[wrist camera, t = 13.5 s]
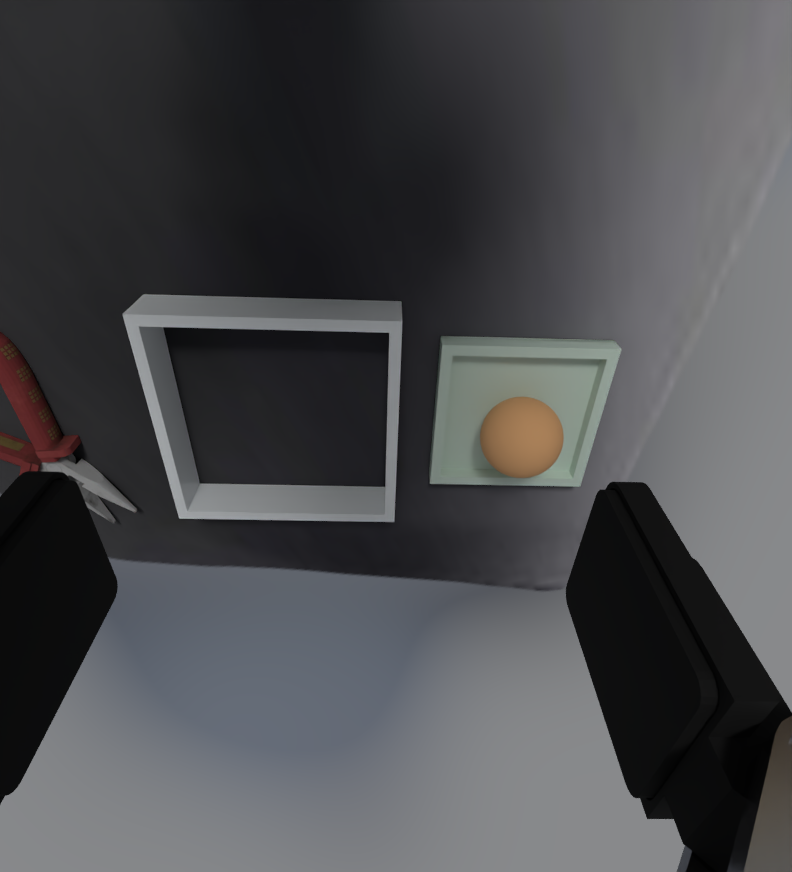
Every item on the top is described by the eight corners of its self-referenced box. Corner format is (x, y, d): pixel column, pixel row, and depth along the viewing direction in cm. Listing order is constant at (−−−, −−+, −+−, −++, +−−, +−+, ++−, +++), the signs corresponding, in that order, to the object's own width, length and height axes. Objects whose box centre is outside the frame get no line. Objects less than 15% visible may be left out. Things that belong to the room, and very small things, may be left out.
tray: (440, 335, 38) (442, 344, 37) (614, 340, 38) (621, 349, 37) (428, 472, 45) (429, 483, 44) (575, 475, 46) (580, 486, 45)
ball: (480, 380, 40) (491, 425, 35) (560, 382, 40) (582, 429, 35) (471, 444, 43) (479, 493, 39) (545, 446, 43) (562, 496, 39)
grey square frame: (143, 294, 36) (122, 314, 33) (401, 301, 37) (402, 321, 34) (192, 490, 46) (179, 518, 44) (394, 493, 47) (394, 522, 44)
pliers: (88, 531, 50) (74, 552, 48) (-129, 368, 40) (-158, 385, 38) (177, 481, 46) (167, 501, 44) (-35, 289, 37) (-61, 303, 34)
